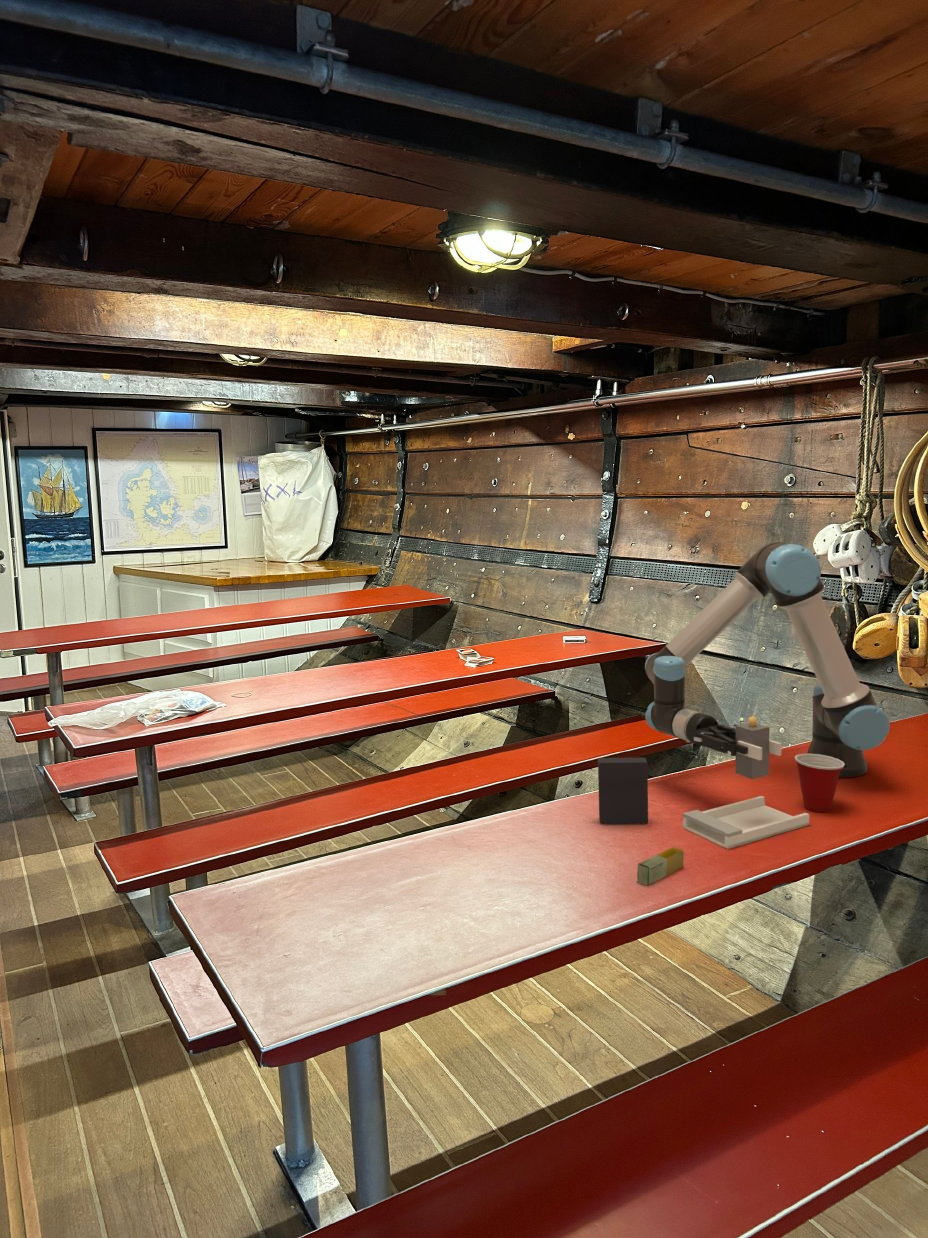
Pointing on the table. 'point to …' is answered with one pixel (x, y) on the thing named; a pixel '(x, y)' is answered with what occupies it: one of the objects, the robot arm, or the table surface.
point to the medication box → (660, 866)
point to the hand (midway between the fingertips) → (770, 751)
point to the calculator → (623, 790)
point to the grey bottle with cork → (756, 737)
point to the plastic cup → (818, 780)
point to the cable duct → (742, 822)
